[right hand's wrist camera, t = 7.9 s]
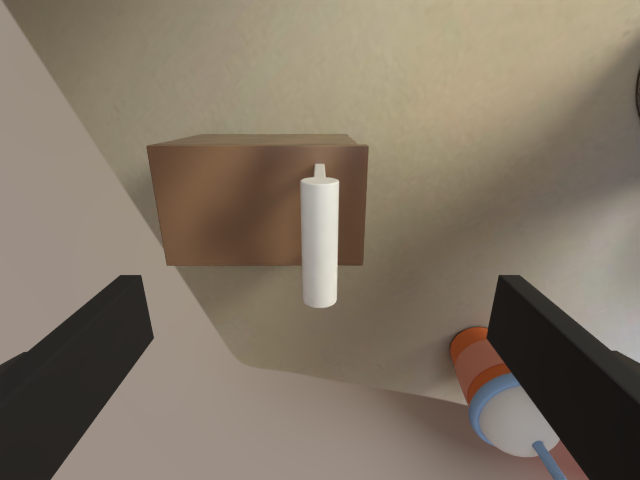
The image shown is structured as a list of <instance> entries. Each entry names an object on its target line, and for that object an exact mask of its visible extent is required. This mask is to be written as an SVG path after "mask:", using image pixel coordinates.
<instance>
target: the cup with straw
mask: <svg viewBox="0 0 640 480" xmlns="http://www.w3.org/2000/svg"><path fill="white" fill-rule="evenodd" d="M487 331H488V329H487V328H483V327H474V328H469V329H467V330H464V331H462V332H461V333H459V334H458V335H457V336H456V337H455V338H454V340H453V341H452V344H451V347H450V354H451V357H452V360H453V363H454V365H455V371H456V375H457V378H458V380H459V383H460V385H461V388H462V391H463V393H464V396H465V399H466V401H467V404H468V406H469V420H470V423H471V426H472V428H473V429H474V431H475V432H476V434H477V435H478V436H479V437H480V438H481V439H483V440H484V441H485V442H487V443H489V444H491V445H493V446H496V447H497V448H499V449H500V450H502V451H504V452H506V453H509V454H511V455H515V456H520V457H533V456H538V455H539V457H540V458H541V460H542V462H543V463H544V465H545V466H546V468H547V470H548V471H549V473H550V474H551V476H552V478H553V479H554V480H567V479H566V477H565V476H564V474H563V473H562V471H561V470H560V468H559V467H558V466H557V464H556V462H555V461H554V459H553V458H552V456H551V455H550V453H549V452H548V451H549V450H551V449H552V448H553V447H554V446H555V445H556V444H557V443H558V441H559V440H560V439H559V437H558V436H557V434H556V433H555V432H554V430H553V429H552V428H551V426H550V425H549V424H548V422H547V421H546V419H545V418H544V417H543V415H542V414H541V413H540V411H539V410H538V408H537V407H536V406H535V404H534V403H533V402H532V400H531V399H530V397H529V396H528V395H527V393H526V392H525V391H524V389H523V388H522V386H521V385H520V384H519V382H518V381H517V380H516V378H515V377H514V376H513V374H512V373H511V371H510V370H509V369H508V367H507V366H506V365H505V363H504V362H503V360H502V359H501V358H500V356H499V355H498V354H497V352H496V351H495V349H494V348H493V347H492V345H491V344H490V343H489V341H488V340H487V339H486V336H487Z"/></svg>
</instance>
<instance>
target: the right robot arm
mask: <svg viewBox="0 0 640 480" xmlns="http://www.w3.org/2000/svg"><path fill="white" fill-rule="evenodd" d="M637 100H638V108H639V113H640V76H639V81H638V90H637ZM153 338H154V336H153V331H152V327H151V322H150V317H149V312H148V307H147V302H146V297H145V292H144V287H143V282H142V277H141V275H120V276H119V277H118V278H116V279H115V280H114V281H113V282H111V283H110V284H109V285H108V286H107V287H105V288H104V289H103V290H102V291H101V292H99V293H98V294H97V295H96V296H94V297H93V298H92V299H91V300H90V301H88V302H87V303H86V304H85V305H84V306H82V307H81V308H80V309H79V310H78V311H76V312H75V313H74V314H73V315H71V316H70V317H69V318H68V319H67V320H65V321H64V322H63V323H62V324H61V325H59V326H58V327H57V328H56V329H55V330H53V331H52V332H51V333H50V334H49V335H47V336H46V337H45V338H44V339H42V340H41V341H40V342H39V343H38V344H36V345H35V346H34V347H33V348H32V349H30V350H29V351H28V352H23V353H21V354H19V355H18V356H16V357H14V358H12V359H10V360H8V361H7V362H5V363H3V364H1V365H0V480H51V478H52V477H53V475H54V474H55V473H56V472H57V470H58V469H59V467H60V466H61V465H62V463H63V462H64V460H65V459H66V458H67V456H68V455H69V454H70V452H71V451H72V450H73V448H74V447H75V445H76V444H77V443H78V441H79V440H80V438H81V437H82V436H83V434H84V433H85V432H86V430H87V429H88V428H89V426H90V425H91V424H92V422H93V421H94V419H95V418H96V417H97V415H98V414H99V412H100V411H101V410H102V408H103V407H104V406H105V404H106V403H107V401H108V400H109V399H110V397H111V396H112V395H113V393H114V392H115V391H116V389H117V388H118V386H119V385H120V384H121V382H122V381H123V380H124V378H125V377H126V376H127V374H128V373H129V371H130V370H131V369H132V367H133V366H134V365H135V363H136V362H137V360H138V359H139V358H140V356H141V355H142V354H143V352H144V351H145V349H146V348H147V347H148V345H149V344H150V343H151V341H152V340H153ZM486 339H487V340H488V341H489V343H490V344H491V345H492V347H493V348H494V349H495V351H496V352H497V354H498V355H499V356H500V358H501V359H502V360H503V362H504V363H505V365H506V366H507V367H508V369H509V370H510V371H511V373H512V374H513V376H514V377H515V378H516V380H517V381H518V382H519V384H520V385H521V386H522V388H523V389H524V391H525V392H526V393H527V395H528V396H529V397H530V399H531V400H532V402H533V403H534V404H535V406H536V407H537V408H538V410H539V411H540V413H541V414H542V415H543V417H544V418H545V419H546V421H547V422H548V424H549V425H550V426H551V428H552V429H553V430H554V432H555V433H556V434H557V436H558V437H559V439H560V440H561V441H562V443H563V444H564V445H565V447H566V448H567V450H568V451H569V452H570V454H571V455H572V456H573V458H574V459H575V461H576V462H577V463H578V465H579V466H580V467H581V469H582V470H583V471H584V473H585V474H586V475H587V477H588V478H589V480H640V363H638V362H636V361H634V360H633V359H631V358H629V357H627V356H625V355H623V354H621V353H620V352H618V351H611V350H610V349H608V348H607V347H606V346H605V345H604V344H602V343H601V342H600V341H599V340H598V339H596V338H595V337H594V336H593V335H592V334H590V333H589V332H588V331H587V330H585V329H584V328H583V327H582V326H581V325H579V324H578V323H577V322H576V321H575V320H573V319H572V318H571V317H570V316H569V315H567V314H566V313H565V312H564V311H562V310H561V309H560V308H559V307H558V306H556V305H555V304H554V303H553V302H552V301H550V300H549V299H548V298H547V297H546V296H544V295H543V294H542V293H541V292H539V291H538V290H537V289H536V288H535V287H533V286H532V285H531V284H530V283H529V282H527V281H526V280H525V279H524V278H523V277H521V276H520V275H499V277H498V282H497V287H496V292H495V297H494V302H493V307H492V312H491V317H490V322H489V327H488V331H487V336H486Z"/></svg>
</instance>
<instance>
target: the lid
mask: <svg viewBox="0 0 640 480" xmlns="http://www.w3.org/2000/svg"><path fill="white" fill-rule="evenodd" d="M368 148H369V147H368V145H148V146H147V152H148V158H149V164H150V170H151V176H152V182H153V187H154V193H155V199H156V205H157V211H158V217H159V223H160V228H161V234H162V240H163V246H164V252H165V258H166V263H167V265H169V266H181V265H302V295H303V302H304V303H305V304H306V305H308V306H310V307H313V308H326V307H330V306H332V305H333V304H335V302H336V300H337V265H363V253H364V232H365V211H366V190H367V169H368Z"/></svg>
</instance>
